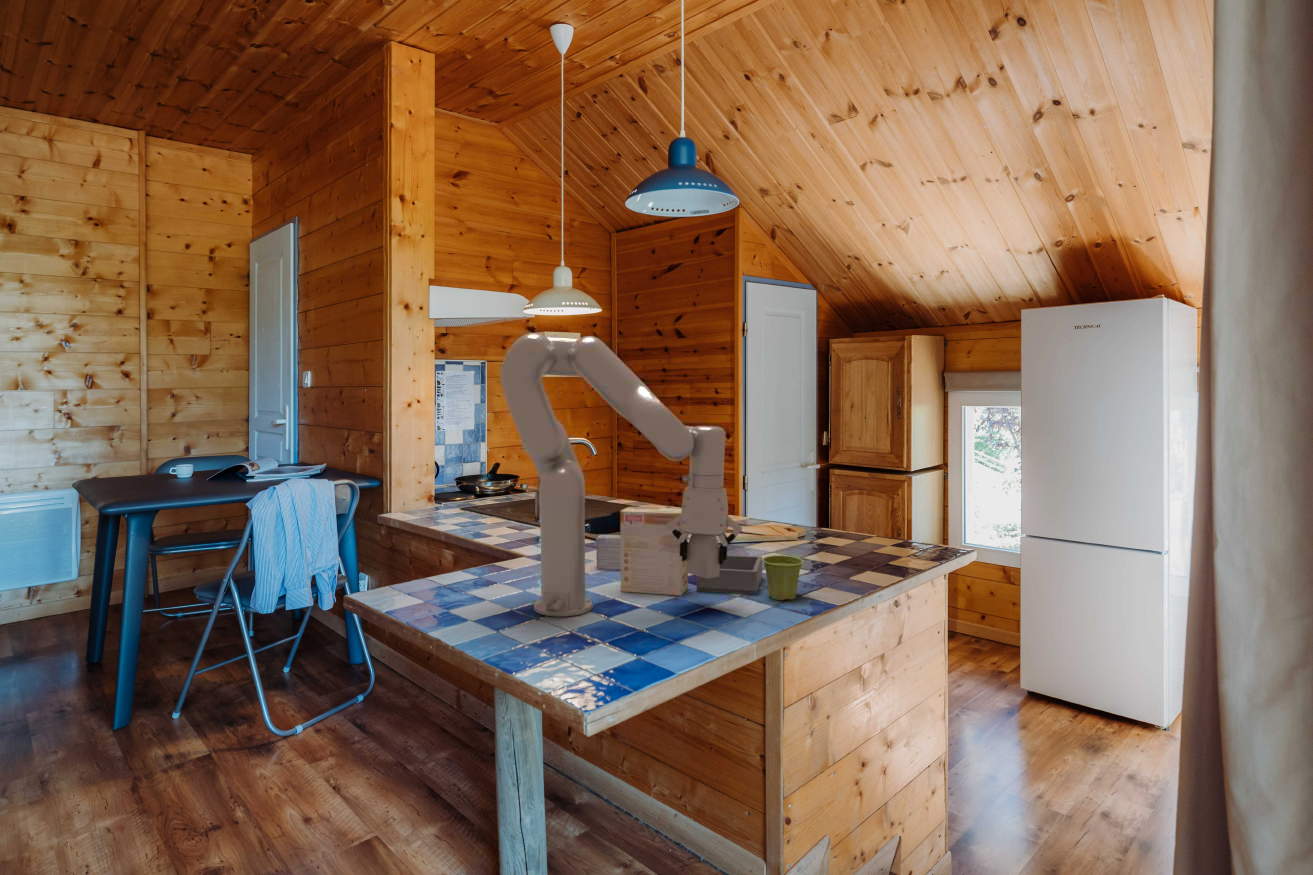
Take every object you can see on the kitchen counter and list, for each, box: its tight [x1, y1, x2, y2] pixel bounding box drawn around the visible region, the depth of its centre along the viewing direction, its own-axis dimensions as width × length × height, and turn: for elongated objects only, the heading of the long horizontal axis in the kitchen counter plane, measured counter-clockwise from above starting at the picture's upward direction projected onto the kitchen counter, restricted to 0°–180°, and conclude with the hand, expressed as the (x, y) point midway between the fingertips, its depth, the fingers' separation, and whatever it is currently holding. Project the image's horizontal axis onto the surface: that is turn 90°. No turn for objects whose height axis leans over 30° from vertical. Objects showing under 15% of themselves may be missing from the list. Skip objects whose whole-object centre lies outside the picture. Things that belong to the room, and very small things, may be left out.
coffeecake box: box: [619, 506, 689, 597], centre depth 177 cm, size 15×7×20 cm, turn 74°
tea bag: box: [686, 534, 720, 579], centre depth 165 cm, size 4×7×10 cm, turn 40°
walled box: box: [696, 554, 763, 596], centre depth 182 cm, size 16×14×6 cm
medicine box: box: [595, 534, 621, 571], centre depth 199 cm, size 8×4×9 cm, turn 84°
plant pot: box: [762, 554, 805, 601], centre depth 171 cm, size 9×9×9 cm
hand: (702, 560), depth 165 cm, fingers closed on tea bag, 7 cm apart
